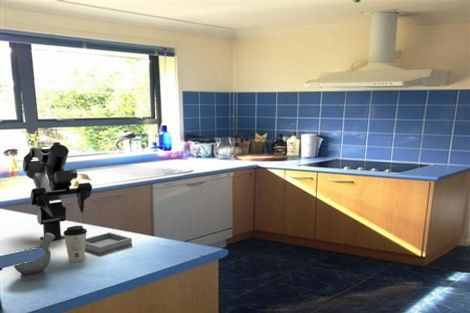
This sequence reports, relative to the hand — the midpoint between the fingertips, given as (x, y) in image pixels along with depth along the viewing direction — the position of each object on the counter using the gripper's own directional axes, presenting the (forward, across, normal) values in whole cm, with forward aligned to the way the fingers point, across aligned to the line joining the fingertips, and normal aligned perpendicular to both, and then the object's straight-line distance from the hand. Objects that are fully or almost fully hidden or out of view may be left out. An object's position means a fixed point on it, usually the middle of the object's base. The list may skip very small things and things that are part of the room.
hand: (68, 214), depth 142 cm
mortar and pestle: (+20, -14, -1) cm, 24 cm away
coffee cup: (+14, 0, +5) cm, 15 cm away
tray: (+9, +12, +9) cm, 17 cm away
